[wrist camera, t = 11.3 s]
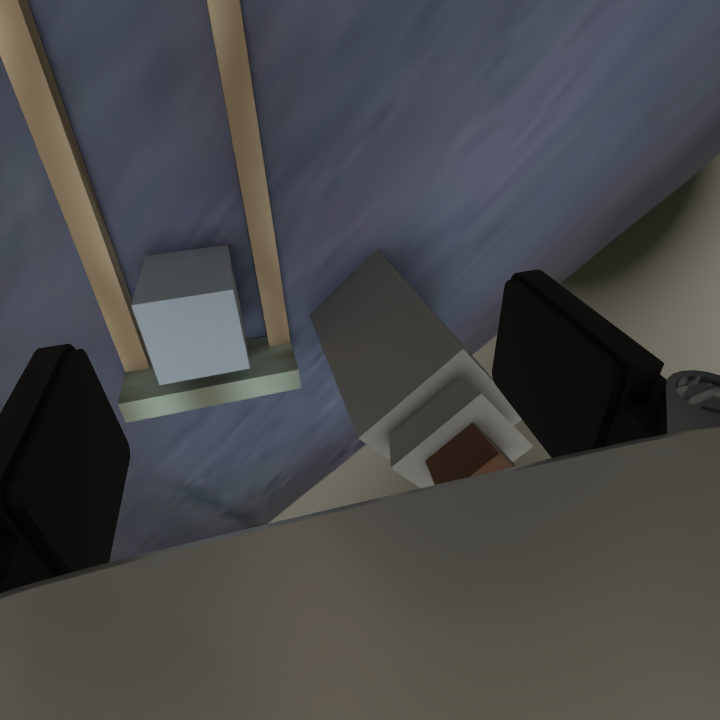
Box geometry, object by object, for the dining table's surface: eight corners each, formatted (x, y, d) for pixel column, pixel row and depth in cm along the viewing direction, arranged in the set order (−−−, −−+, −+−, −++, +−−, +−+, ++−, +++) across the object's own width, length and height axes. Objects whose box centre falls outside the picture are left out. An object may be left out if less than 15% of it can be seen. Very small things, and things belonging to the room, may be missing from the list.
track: (205, -212, 20) (205, -277, 16) (290, 349, 36) (301, 387, 32) (-97, -227, 18) (-185, -307, 14) (135, 377, 33) (125, 423, 29)
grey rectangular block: (227, 244, 30) (233, 289, 25) (242, 313, 33) (250, 368, 27) (145, 255, 29) (131, 305, 24) (167, 325, 32) (159, 385, 26)
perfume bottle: (367, 364, 38) (466, 557, 24) (309, 315, 35) (386, 508, 20) (430, 308, 37) (577, 475, 23) (378, 250, 33) (513, 407, 19)
